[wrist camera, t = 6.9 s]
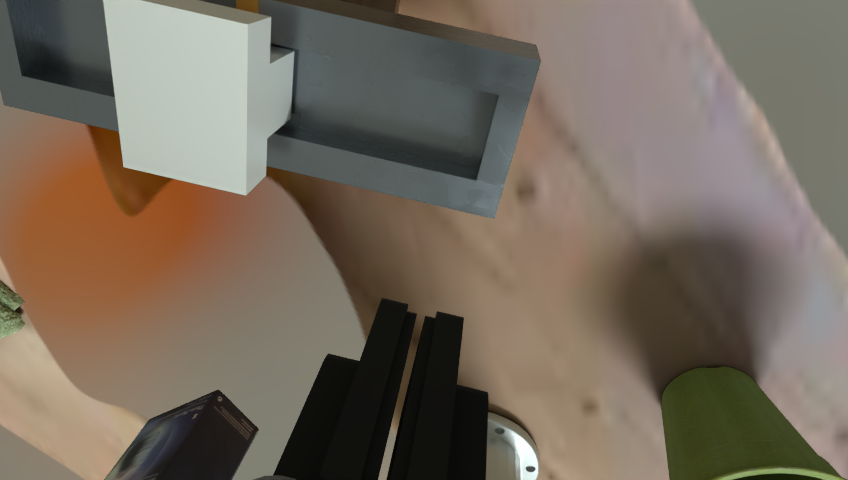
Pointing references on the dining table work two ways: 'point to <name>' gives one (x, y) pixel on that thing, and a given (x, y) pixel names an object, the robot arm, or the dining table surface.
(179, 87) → the rider
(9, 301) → the washcloth
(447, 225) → the dining table surface
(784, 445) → the plant pot
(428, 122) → the balance beam
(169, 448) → the small box
